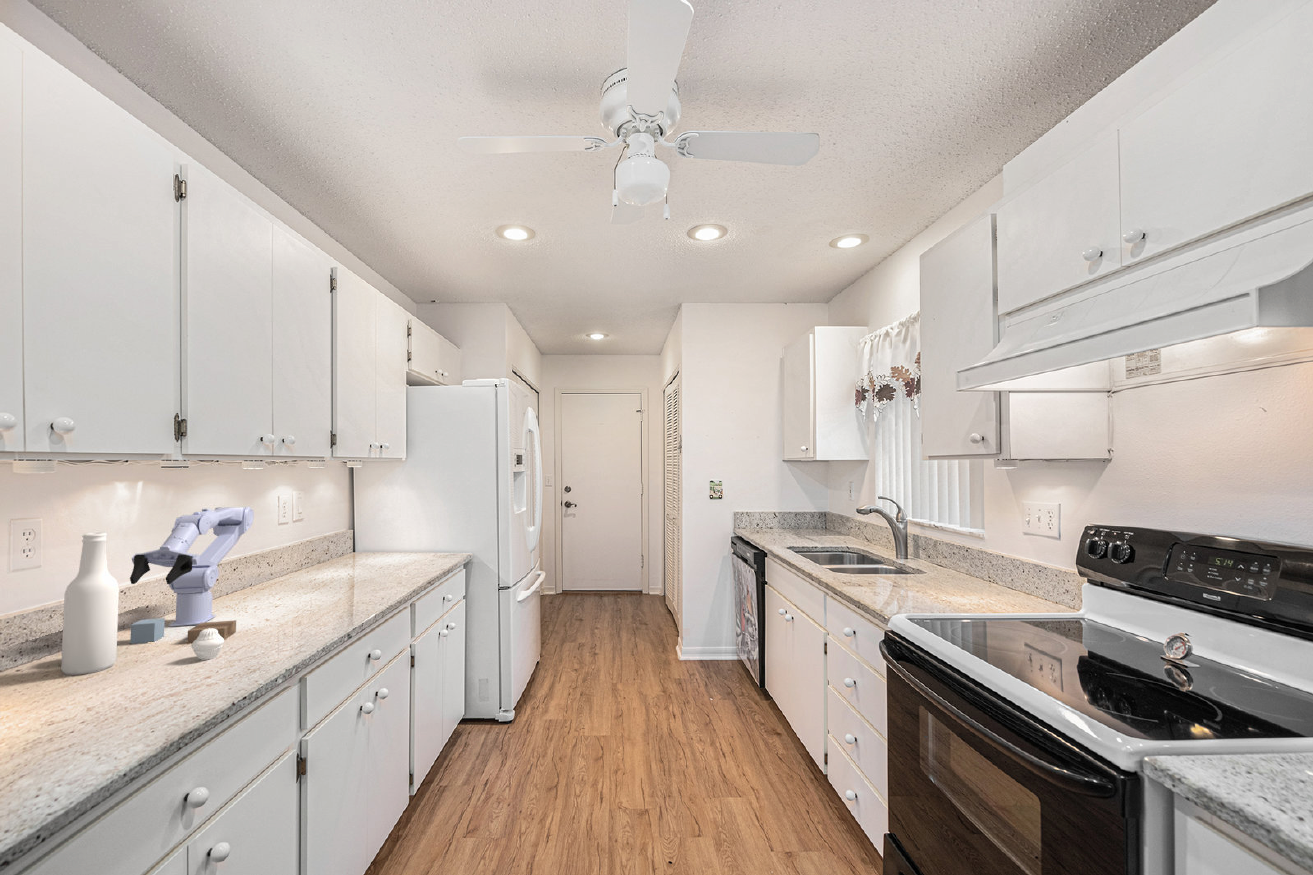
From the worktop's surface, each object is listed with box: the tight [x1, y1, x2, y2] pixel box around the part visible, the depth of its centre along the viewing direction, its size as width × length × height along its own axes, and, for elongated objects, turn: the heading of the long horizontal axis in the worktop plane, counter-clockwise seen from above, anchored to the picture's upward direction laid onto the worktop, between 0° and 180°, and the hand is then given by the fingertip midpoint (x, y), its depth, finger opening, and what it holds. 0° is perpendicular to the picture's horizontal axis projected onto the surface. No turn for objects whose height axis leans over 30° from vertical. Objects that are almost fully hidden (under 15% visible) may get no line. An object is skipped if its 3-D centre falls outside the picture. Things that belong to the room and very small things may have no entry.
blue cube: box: [129, 617, 166, 645], centre depth 152 cm, size 5×5×5 cm
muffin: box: [191, 628, 225, 661], centre depth 138 cm, size 6×6×7 cm
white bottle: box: [60, 532, 120, 676], centre depth 131 cm, size 9×9×30 cm
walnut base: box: [186, 619, 237, 644], centre depth 155 cm, size 8×8×4 cm
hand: (150, 581), depth 150 cm, fingers open, 7 cm apart
